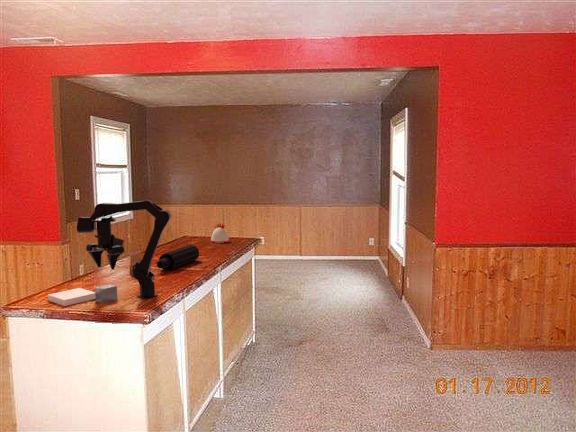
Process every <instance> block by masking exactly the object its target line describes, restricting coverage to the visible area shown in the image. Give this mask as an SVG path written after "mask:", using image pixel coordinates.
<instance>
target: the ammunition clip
mask: <svg viewBox="0 0 576 432" xmlns="http://www.w3.org/2000/svg"><path fill="white" fill-rule="evenodd" d="M142 259H143V256H142V251H141V249H138V250H135V251H132V252H130V262H129V264H130V265H129V275H130V276H134V271H133V270H134V269H135V266H136V262H137V261H138V260H140V261H141V260H142Z"/></svg>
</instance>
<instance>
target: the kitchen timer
mask: <svg viewBox="0 0 576 432" xmlns="http://www.w3.org/2000/svg"><path fill="white" fill-rule="evenodd" d="M225 227H226V225H225V224H224V223H221V222H220V223H219V222H218V223H217V224H216V225H215V226H214V228H215V229H214V230H213V232H212V235H211V237H210V242H211V241H213V242H225V241H229V242H230V238H229V234H228V233H227V230H225Z"/></svg>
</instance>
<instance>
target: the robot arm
mask: <svg viewBox="0 0 576 432" xmlns="http://www.w3.org/2000/svg"><path fill="white" fill-rule="evenodd" d="M141 210H142V211H143V210H146V211H147V212H148V213H149V214H151V216H153V218H154V225H153V231H152V233H151V235H150V239H149V241H148V243H147V245H146V249H145V251H144V254H143V256H142V260H141V261H140V260H138V261H137V262H136V266H135V269H134V270H133V271H134V275H133V277H134V279H135V280H137V282H138V284H139V294H138V295H137V296H136V297H137V298H141V299H144V300H146V299H151V298H155V297H158V293H155V292H156V289H155V287H156V286H155V281H154V280H155V279H156V275H155V274H154V273H153V272H152V271H151V269H152V261H153V258H154V255H155V252H156V250H157V247H158V246H159V242H160V240H161V237H162V235H163V232H164V231H165V229H166V227H167V226H168V224H169V222H170V221H171V219H172V213H171V212H170V210H168V209H163V208H162V207H161V206H160V205H157V204H156V203H154V202H153V201H152V200H150V199H145V200H141V201H140V200H139V201H129V202H122V203H116V202H115V203H113V202H101V203H98V204H96V205H95V207H94V211H93V213H92V214H91V215H90V216H78V218H77V219H78V220H77V223H76V231H77V233H78V234H88V233H90V234H93V233H94V232H95V231H96V234H94V238H96V240H97V242H96V243H95V242H94V243H87V244H86V247H85V250H86V252H87V254H89V255H90V256H91V258H92V259H93V261H94V262H95V264H96V267H98V268H101V267H102V255H103V253H104V251H106V253H107V254H106V256H107V259H108V262H109V266H110V269H111V270H115V269H116V268H115V267H116V265H117V262H118V258H119V257H120V256H121V255H123V253H125V247H124V243H125V240H124V239H122V238H117V237H116V236H115V234H114V233H112V223H114V222H116V221H117V219H116V218H115V217H113V216H112V215H114V214H118V213H124V212H135V211H141ZM108 216H109V217H108ZM100 218H101V219H100Z"/></svg>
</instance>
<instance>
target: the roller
mask: <svg viewBox="0 0 576 432" xmlns="http://www.w3.org/2000/svg"><path fill="white" fill-rule="evenodd" d="M199 256H200V251H199V248H198V247H197V246H196V245H193V244H189V245H185V246H182V247H180V248H177V249H174V250H170V251H167V252H164V253H162V254H161V255H160V256H159V259H158V261H156V266H157V268H158V269H162V270H163V271H164V272H165V271H167V272H169V271H172V270H174V269H178V268H180V267H182V266H184V265H187V264H190V263H191V262H194V261H196V260H198V259H199Z"/></svg>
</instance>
